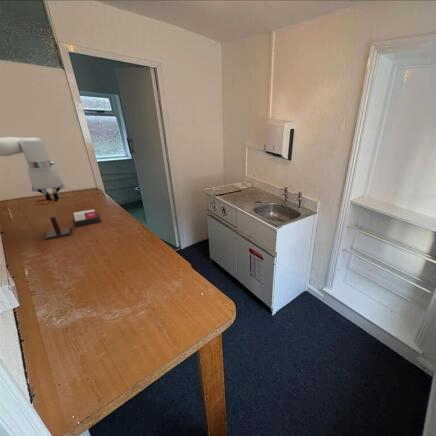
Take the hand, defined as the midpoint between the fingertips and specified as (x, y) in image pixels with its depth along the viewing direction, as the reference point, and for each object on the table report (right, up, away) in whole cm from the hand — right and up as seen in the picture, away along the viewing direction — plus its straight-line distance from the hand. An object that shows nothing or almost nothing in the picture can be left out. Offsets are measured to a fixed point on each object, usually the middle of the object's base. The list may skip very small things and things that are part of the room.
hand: (53, 200), depth 118 cm
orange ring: (-2, 0, -2) cm, 3 cm away
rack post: (-4, -17, +7) cm, 19 cm away
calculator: (-4, -10, +24) cm, 26 cm away
